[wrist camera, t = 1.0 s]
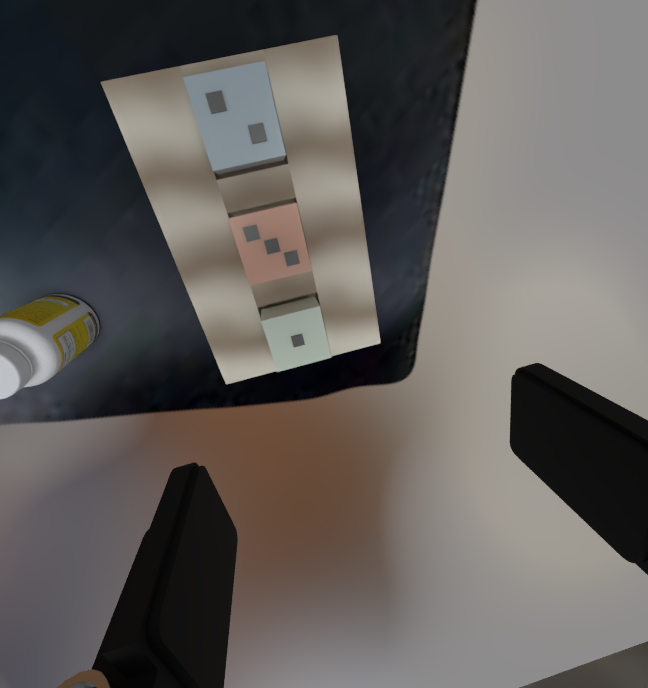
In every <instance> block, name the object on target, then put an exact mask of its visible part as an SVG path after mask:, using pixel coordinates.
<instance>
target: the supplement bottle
mask: <svg viewBox="0 0 648 688" xmlns="http://www.w3.org/2000/svg"><path fill="white" fill-rule="evenodd" d="M99 329H100V326H99V321H98V318H97V316H96V314H95V313H94V311H93V310H92V309H91V308H90V307H89V306H88V305H87V304H86V303H84V302H83V301H81V300H79V299H77V298H75V297H72V296H69V295H64V294H52V295H47V296H44V297H42V298H39V299H37V300H35V301H33V302H30V303H28V304H26V305H24V306H22V307H19V308H17V309H15V310H12V311H10V312H8V313H6V314H4V315H1V316H0V399H4V398H7V397H9V396H11V395H13V394H14V393H16V392H17V391H18V390H20V389H21V388H23V387H30V386H35V385H38V384H41V383H43V382H45V381H47V380H48V379H50V378H51V377H53V376H54V375H55V374H56V373H58V372H59V371H60V370H61V369H62V368H63V367H65V366H66V365H67V364H68V363H69V362H71V361H72V360H73V359H74V358H75V357H77V356H78V355H79V354H80V353H81V352H83V351H84V350H85V349H86V348H87V347H88V346H90V345H91V344H92V343H93V342H94V341H95V339H96V338H97V336H98V334H99Z"/></svg>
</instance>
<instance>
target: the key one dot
mask: <svg viewBox="0 0 648 688" xmlns="http://www.w3.org/2000/svg"><path fill="white" fill-rule="evenodd" d="M261 323H262V326H263V329H264V332H265V335H266V338H267V341H268V345H269V348H270V351H271V354H272V357H273V360H274V363H275V366H276V370H277V372H279V371H283V370H287V369H291V368H294V367H298V366H302V365H306V364H309V363H313V362H317V361H321V360H324V359H328V358H331V354H330V349H329V345H328V340H327V336H326V331H325V327H324V322H323V318H322V313H321V309H320V305H319V303H318V302H317V300H316V298H315V296H314V297H310V298H306V299H302V300H298V301H294V302H290V303H286V304H282V305H278V306H274V307H270V308H266V309H262V310H261Z"/></svg>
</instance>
